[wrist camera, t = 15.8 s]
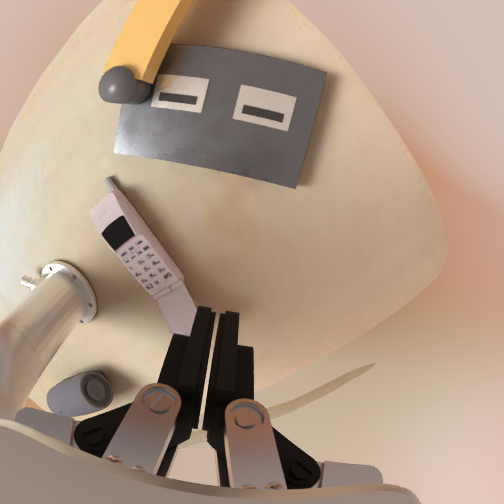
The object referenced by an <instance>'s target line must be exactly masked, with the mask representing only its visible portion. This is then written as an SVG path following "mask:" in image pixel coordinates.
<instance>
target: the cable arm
mask: <svg viewBox="0 0 504 504" xmlns="http://www.w3.org/2000/svg"><path fill="white" fill-rule="evenodd" d="M193 1H194V0H138V1H137V3H136V4H135V6H134V8H133V10H132V12H131V13H130V15H129V17H128V19H127V21H126V23H125V25H124V27H123V29H122V31H121V33H120V35H119V37H118V39H117V41H116V43H115V46H114V48H113V50H112V52H111V55H110V57H109V59H108V62H107V64H106V67H105V69H104V72H103V73H105V74H104V75H103V76H102V78H101V80H100V83H99V94H100V96H101V98H102V99H103V100H104V101H106V102H110V103H118V104H127V105H137V104H140V103H141V102H143V101H144V100H145V99H146V98H147V97H148V95H149V93H150V90H151V84H153V81H154V79H155V76H156V74H157V72H158V69H159V67H160V65H161V63H162V60H163V58H164V56H165V54H166V52H167V50H168V47H169V45H170V43H171V41H172V39H173V37H174V35H175V33H176V31H177V29H178V28H179V26H180V24H181V22H182V20H183V18H184V16H185V15H186V13H187V11H188V9H189V8H190V6H191V4H192V2H193Z"/></svg>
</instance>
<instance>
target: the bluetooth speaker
mask: <svg viewBox="0 0 504 504" xmlns="http://www.w3.org/2000/svg"><path fill="white" fill-rule="evenodd" d="M112 399H113V390H112V387H111V385H110V383H109V381H108V380H107V379H106V378H105V377H104V376H103V375H101V374H100V373H98V372H95V371H90V372H84V373H81V374H79V375H76V376H73V377H70V378H67V379H65V380H63V381H62V382H60V383H58V384H57V385H56V386H54V387H52V388H51V389H50V390H49V392H48V394H47V404H48V407H49V408H50V410H51V411H52V412H53V413H54V414H58V415H62V416H67V417H75V416H81V415H86V414H90V413H94V412H97V411H100V410H102V409H104V408H106V407H107V406H109V405H110V403H111V402H112Z"/></svg>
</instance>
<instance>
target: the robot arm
mask: <svg viewBox="0 0 504 504" xmlns="http://www.w3.org/2000/svg"><path fill="white" fill-rule="evenodd" d="M21 282H22V285H24V286H26V287H28V288H31V289H32V290H30V292H29V293H28V294H27V295H26V296H25V297H24V298H23V299H22V300H21V301H20V302H19V303H18V304H17V305H16V306H15V307H14V308H13V309H12V310H11V311H10V312H9V313H8V314H7V315H6V316H5V317H4V318H3V319H2V320H1V321H0V504H421V503H420V501H419V499H418V498H417V496H416V495H415V494H414V493H413V492H412V491H410V490H408V489H406V488H403V487H400V486H396V485H391V484H383V480H382V474H381V472H380V471H379V470H378V469H377V468H375V467H374V466H370V465H357V464H346V463H337V462H330V461H324V462H323V463H322V462H316V461H315V460H314V459H313V458H312V457H310V456H309V455H308V454H306V453H305V452H304V451H302V450H301V449H300V448H298V447H297V446H296V445H295V444H293V443H292V442H291V441H289V440H288V439H287V438H285V437H284V436H283V435H282V434H281V433H279V432H278V431H277V430H276V429H275V428H273V427H272V425H271V421H270V417H269V414H268V411H267V409H266V408H265V407H264V406H263V405H262V404H260V403H259V402H257V401H254V350H253V347H248V346H242V345H237V344H238V328H239V313H236V312H230V311H226V313H225V314H221V313H220V318H219V323H218V329H217V335H216V340H215V346H214V352H213V358H212V364H211V371H210V377H209V384H208V391H207V398H206V405H205V412H204V420H203V427H202V430H205V431H207V442H208V443H209V444H210V445H211V446H212V447H213V448H214V449H215V462H216V471H217V481H218V486H211V485H203V484H197V483H191V482H185V481H180V480H175V479H170V478H168V475H169V473H170V470H171V468H172V465H173V462H174V460H175V457H176V455H177V452H178V449H179V447H180V443H182V442H184V441H186V440H188V439H190V435H191V432H192V428H194V429H198V423H199V416H200V409H201V403H202V396H203V390H204V384H205V378H206V371H207V365H208V359H209V353H210V347H211V340H212V334H213V328H214V322H215V316H216V312H211V308H208V307H203V306H198V308H197V311H196V315H195V319H194V322H193V326H192V329H191V333H190V336H186V335H181V334H176V333H174V334H173V337H172V339H171V342H170V345H169V348H168V351H167V354H166V357H165V360H164V363H163V366H162V369H161V372H160V376H159V379H158V382H157V383H153V384H149V385H147V386H145V387H143V388H142V389H141V390H140V391H139V393H138V394H137V396H136V398H135V399H134V401H133V402H132V403H129V404H127V405H124V406H122V407H119V408H116V409H114V410H111V411H108V412H105V413H103V414H100V415H97V416H94V417H91V418H88V419H85V420H83V421H76V420H74V418H71V417H67V416H62V415H58V414H53V413H49V412H45V411H42V410H38V409H34V408H29V407H26V408H23V407H24V404H25V402H26V400H27V398H28V396H29V394H30V392H31V390H32V388H33V387H34V385H35V383H36V382H37V380H38V379H39V377H40V376H41V374H42V373H43V371H44V370H45V368H46V367H47V365H48V364H49V362H50V361H51V359H52V358H53V357H54V355H55V354H56V352H57V351H58V349H59V348H60V347H61V345H62V344H63V343H64V341H65V340H66V338H67V337H68V336H69V334H70V333H71V332H72V330H73V329H74V328H75V326H76V325H77V324H79V325H82V324H87V323H89V322H90V321H91V320H92V319H93V317H94V316H95V314H96V310H97V302H96V298H95V295H94V292H93V290H92V288H91V286H90V284H89V283H88V281H87V280H86V278H85V277H84V276H83V275H82V274H81V273H80V272H79V271H78V270H77V269H76V268H74V267H73V266H71V265H70V264H68V263H65V262H62V261H53V262H50V263H49V264H48V265H46V266H45V267H44V269H43V271H42V274H41V278H40V279H32V278H31V277H28V276H26V275H24V276H23V278H22V281H21Z"/></svg>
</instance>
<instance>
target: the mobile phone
mask: <svg viewBox="0 0 504 504" xmlns="http://www.w3.org/2000/svg"><path fill="white" fill-rule="evenodd" d="M104 181H105V183H106V185H107V186H108V188H109V190H110V191H111V192H109V193H108V194H107V195H106V196H105V197H104V198H103V199H102V200H101V201H100V202H99V203H98V204H97V205H96V206H95V207H94V208H93V209H92V210H91V211H90V212H89V216H90V219H91V220H92V222H93V224H94V225H95V227H96V229H97V230H98V232H99V233H100V235H101V236H102V238H103V239H104V241H105V242H106V244H107V245H108V246H109V248H110V249H111V251H112V252H113V253H115V255H116V256H117V257H118V259H119V260H120V261H121V262H122V264H123V265H124V266H125V267H126V268H127V270H128V271H129V272H130V273H131V274H132V275H133V277H134V278H135V279H136V280H137V281H138V282H139V283H140V285H141V286H142V287H143V288H144V289H145V290H146V291H147V292H148V293H149V295H150V296H152V299H153V300H156V302H157V304H158V307H159V309H160V311H161V313H162V315H163V318H164V320H165V322H166V324H167V326H168V328H169V330H170V332H171V335H172V337H173V334H174V333H176V334H181V335H186V336H190V333H191V329H192V326H193V322H194V319H195V315H196V311H197V307H196V306H195V304H194V302H193V300H192V298H191V296H190V294H189V292H188V290H187V288H186V286H185V284H184V275H183V274H182V272H181V271H180V269H179V268H178V267H177V265H176V264H175V263H174V261H173V260H172V259H171V257H170V256H169V255H168V253H167V252H166V251H165V249H164V248H163V246H162V245H161V244H160V242H159V241H158V240H157V238H156V237H155V236H154V234H153V233H152V232H151V230H150V229H149V228H148V226H147V225H146V224H145V222H144V221H143V219H142V218H141V217H140V215H139V214H138V213H137V211H136V210H135V208H134V207H133V206H132V205H131V203H130V202H129V201H128V200H127V198H126V197H125V196H124V194H123V193H122V192H121V191H120V190H119V189H118V188H117V186H116V185H115V184H114V182H113V181H112V180H111V179H110V177H107V178H106V179H105V180H104Z"/></svg>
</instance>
